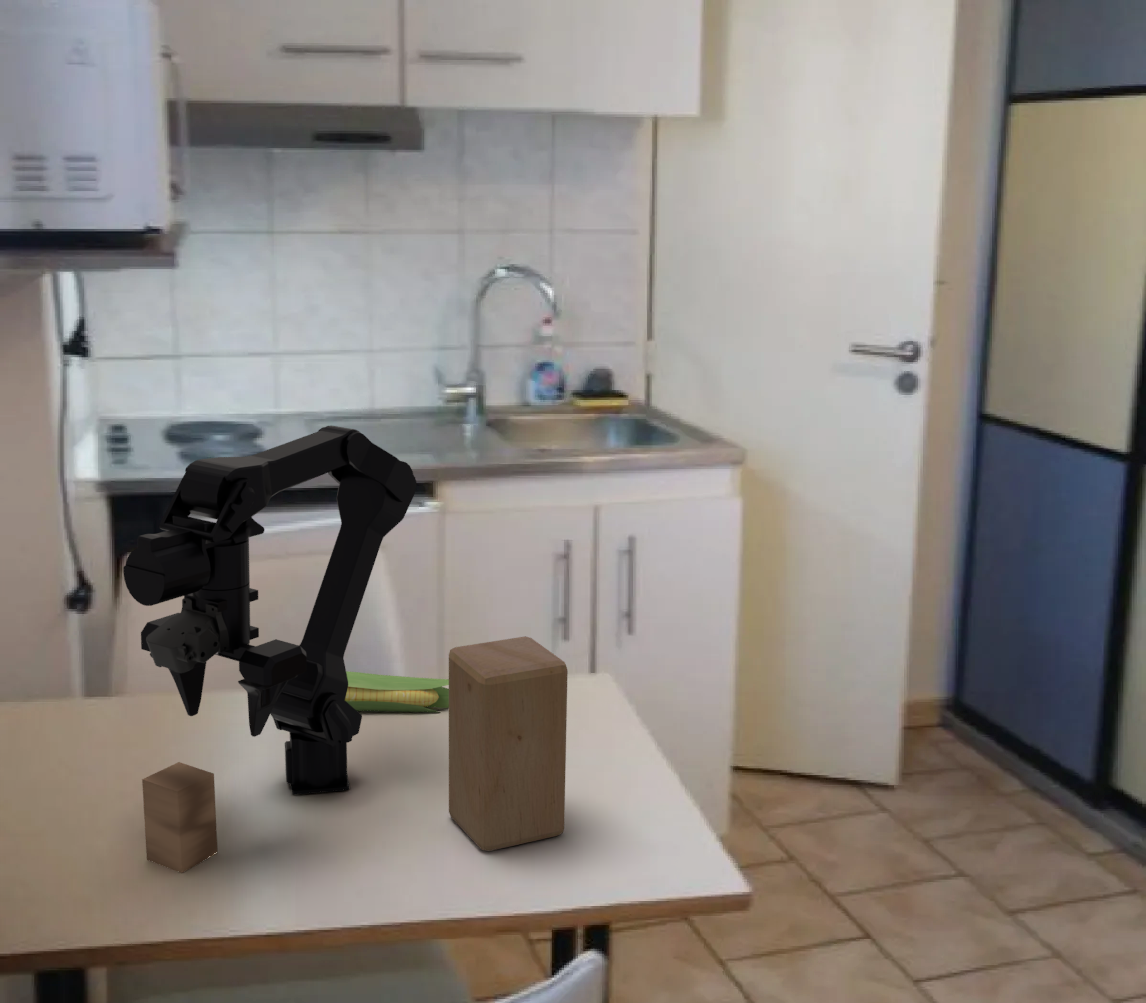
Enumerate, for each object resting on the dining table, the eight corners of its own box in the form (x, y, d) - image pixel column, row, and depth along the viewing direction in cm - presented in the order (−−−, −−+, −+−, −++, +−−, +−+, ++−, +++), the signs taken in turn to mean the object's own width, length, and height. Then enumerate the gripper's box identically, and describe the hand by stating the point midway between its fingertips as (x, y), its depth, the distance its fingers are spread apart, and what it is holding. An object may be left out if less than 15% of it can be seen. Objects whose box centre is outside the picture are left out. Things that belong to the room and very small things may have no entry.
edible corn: (314, 668, 193) (308, 671, 189) (467, 676, 193) (465, 679, 189) (312, 708, 193) (306, 711, 188) (465, 716, 193) (462, 720, 189)
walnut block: (182, 840, 156) (178, 762, 154) (217, 853, 153) (213, 773, 151) (146, 859, 152) (142, 779, 149) (181, 873, 149) (177, 791, 147)
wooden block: (482, 856, 154) (483, 676, 149) (445, 816, 162) (445, 645, 157) (567, 837, 158) (571, 662, 153) (527, 799, 167) (529, 632, 162)
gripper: (96, 583, 150) (102, 727, 153) (229, 619, 140) (232, 772, 144) (179, 560, 159) (183, 697, 163) (309, 592, 149) (310, 737, 153)
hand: (223, 725), depth 155 cm, fingers open, 9 cm apart
